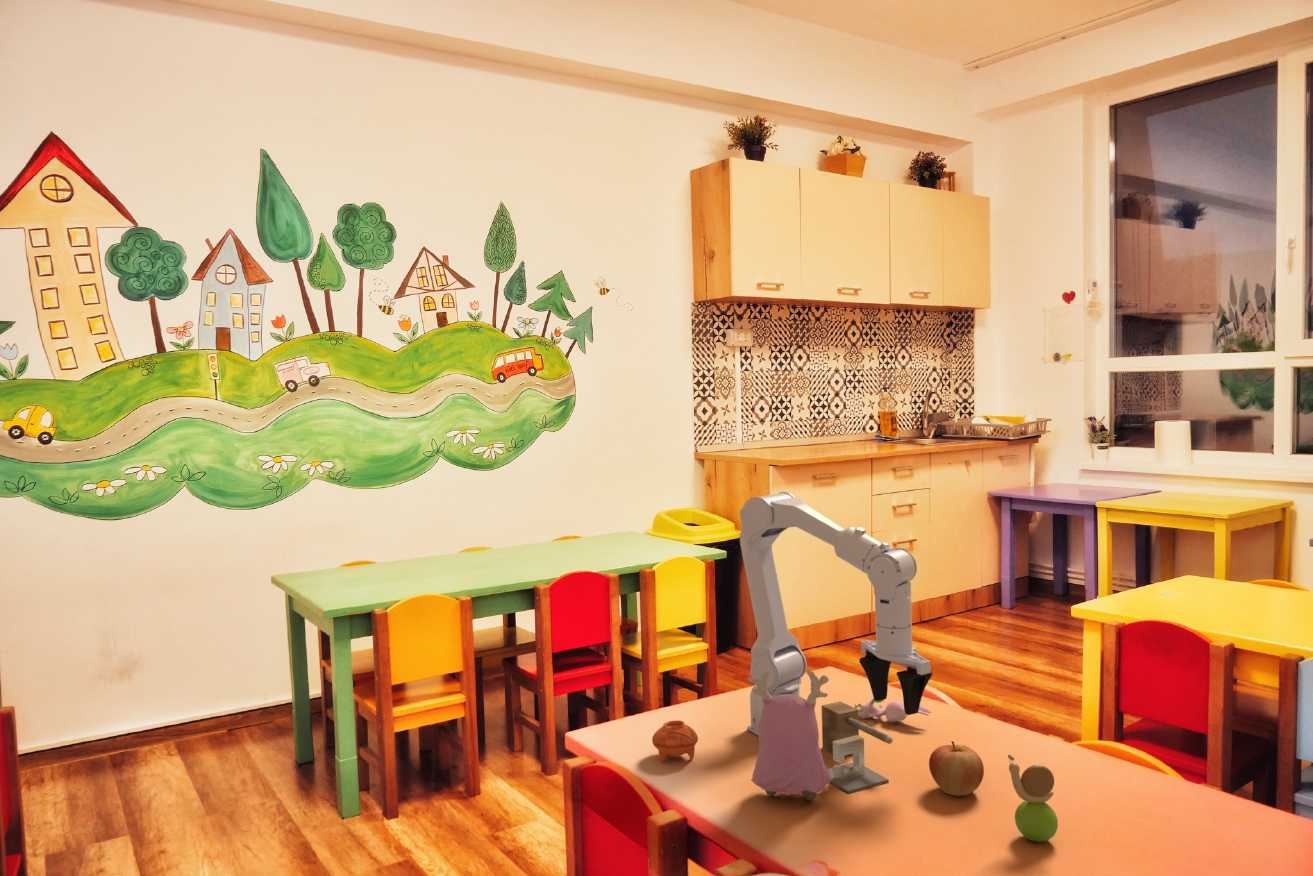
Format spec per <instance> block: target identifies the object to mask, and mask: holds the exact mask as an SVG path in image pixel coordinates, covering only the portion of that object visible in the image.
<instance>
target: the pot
mask: <svg viewBox="0 0 1313 876" xmlns="http://www.w3.org/2000/svg"><path fill="white" fill-rule="evenodd" d="M651 739H652V741H651V742H652V745H653V747H654V748H655V749H657V750H658V755H659V759H660V761H661V762H662V763H663V762H664V763H665V761H666V757H667V756H669V757H680V756H683V755H685V754H687V755H688V757H689V760H690V761H692V760H694V757H695V751H696V747H695V746H696V744H697V743H698V740H699V736H698V734H697V732H696V731H695V730H694V729H693V728H692V727H691V726H689V725H687V724H685V722H684V721H683V720H670V721H667V722H665V723H663V724H662V726H661V727H660V728H658V729H657V730H656V731H655V732H654V734H653V735H652V738H651Z"/></svg>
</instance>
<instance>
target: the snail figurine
mask: <svg viewBox="0 0 1313 876" xmlns="http://www.w3.org/2000/svg"><path fill="white" fill-rule="evenodd" d="M1007 758H1008V759H1009V765H1008V771H1009V773H1010V776H1011V782H1012V785H1013V789H1014V791H1015V792H1016V794H1017V796H1018V797H1019V798H1020V799H1021V800H1023V801H1022V802H1021V803H1020V804H1019V805H1017V808H1016V810H1015V814H1014V822H1015V826H1016V828H1017V830H1018V831H1019V832H1020V834H1021V836H1024V837H1025V838H1026V839H1027V840H1029V841H1032V842H1036V843H1044V842H1047V841H1049V840H1051V839H1052V838H1053V837H1055V835H1056V833H1057V831H1058V827H1059V822H1058V816H1057V814H1056V811H1054V808H1052V806H1050V805H1049V804H1048V803H1046V802H1048V801H1049V800H1051V798H1052V797H1053V796H1054V791H1052V790H1053V789H1054V786H1055V777H1054V775H1053V772H1052V771H1051V770H1050V769H1049V768H1048V767H1046V766H1045V765H1042V764H1033V765H1030V766H1029V767H1027V768H1026V769H1024V771H1023V773H1022V774H1021V776H1020V770H1021V769H1020V765H1019V764H1017V763H1015V762H1013V761H1014V760H1015V757H1014V756H1013V755H1011V754H1010V753H1009V754H1008V755H1007Z"/></svg>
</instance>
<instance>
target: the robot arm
mask: <svg viewBox="0 0 1313 876" xmlns="http://www.w3.org/2000/svg"><path fill="white" fill-rule="evenodd" d="M738 513H739V518H740V523H741V529H740V536H739V545H740V548H741V549H740V550H741V554H742V560H743V565H744V571H745V574H746V575H745V576H746V580H747V586H748V589H749V591H748V592H749V597H750V599H751V601H750V602H751V606H752V611H753V615H754V621H755V626H756V631H757V639H756V640H755V642H754V643H753V645H752V647H751V650H750V654H751V663H750V664H751V665H750V676H751V678H757V679H758V680H760V678H761V675H762V673H764V672H766V671H767V670H770V674H769V676H768V677H767V679H766V688H767V691H768V692H769V694H770V695H771V696H773V697H776V696H778V695H785V694H789V695H796V696H800V697H801V695H800V685H801V683H802V679H801V678H802V677H804V675H805V674H806V673H807V668H808V662H807V659H806V656H805V654H804V653H803V651H802V649H801V647H800V644H799V640H798V638H797V637H796V636H795V635H794V634H792V633H791V632H790V631H789V630H788V625H787V620H786V614H785V610H784V605H783V600H782V595H781V589H780V584H779V581H778V580H779V579H778V574H777V569H776V564H775V559H774V554H773V550H772V546H773V545H774V544H775V542H776V540H777V539H778V537H779V536H780V535H781V533H783V532H785V531H786V530H788V529H789V528H798V529H800V530H801V531H803V532H805V533H807V534H808V535H811V536H813V537H815V538H817V539H819V540H821V541H822V542H825V543H826V544H829V545H830V546H833V548H834V549H833V550H834V553H835V555H836V557H838V558H839V559H841V560H842V561H844V562H846V563H848V564H850V565H851V566H853V567H855V568H856V569H858V570H860V571H861V572H862V573H865V574H866V575H867V578H868V581H870V583H871V585H872V587H873V595H874V606H875V608H874V609H875V615H874V616H875V640H871V639H869V640H863V641H862V640H861V642H860V644H861V645H860V649H861V653H862V654H864V655H865V656H862V657H860V658H859V659H858V660H859V665H861V667H862V669H863V670H864V672H865V673H864V674H865V675H866V677H867V680H868V683H869V685H870V689H871V693H872V697H873V698H874V700H875V701H879V700H884V701H885V700H886V699H887V698H888V686H889V685H888V683H889V682H888V681H889V680H888V679H889V673H890V667H891V664H892V663H893V664H895V665H899V666H901V667H903V668H906V669H905V670H899V671H897V672H896V677H897V678H898V681H899V684H900V687H901V690H902V691H901V692H902V697H903V699H902V702H903V703H904V710H905V713H906V714H907V716H911V715H915V714H919V713H918V710H919V706H920V705H921V702H922V697H923V694H924V691H925V689H926V687H927V686H928V683H929V681H930V680H931V678H932V676H933V671H932V669H931V660H928V659H926V658H925V657H923V656H922V655H920V654H919V653H917V648H916V647H914V646H913V626H912V625H913V624H912V623H913V622H912V621H913V620H912V617H913V616H912V615H913V613H912V612H913V611H912V586H911V585H912V582H911V581H912V580H913V579H914V578H915V576H916V575H917V569H918V566H917V561H916V559H915V557H914V555H912V554H911V553H910V552H909V551H908V550H907V549H906V548H904V547H894V548H892V547H890V544H889V543H888V542H885V541H884V542H882V541H879V540H877V539H876V538H874V537H872V536H871V535H869V534H867V533H866V532H867V530H866V529H865V528H864V527H860V526H859V527H855V526H851V527H847V528H845V529H844V528H843V527H841V526H840V525H838V524H837V523H835V522H834V521H832V520H831V519H829V518H827V517H826V516H824V515H823V514H822V513H820V512H818V511H817V510H815V509H814V508H812V507H811V506H809V505H807V503H805V501H804V500H803V499H802V498H801V497H798V496H794V495H793V494H792V493H790V492H787V491H782V492H781V491H780V492H778V493H773V494H768V495H762V496H752V497H750V498H749V499H747V500H746V502H745V503H744V505H743V506H742V508H741V509H740V510H739V512H738ZM752 689H757V685H756V684H754V685H753V686H752V688H751V691H750V693H749V694H750V695H749V704H750V706H749V707H750V708H749V709H750V725H748V726H746V730H748V731H750V732H751V733H753V734H754V735H756V736H758V724H759V719H760V715H761V713H762V710H763V706H764V705H763V701H762V699H763V698H762V697H761V696H759V695H758V694H755V693H754V692H753V691H752Z"/></svg>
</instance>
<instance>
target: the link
mask: <svg viewBox="0 0 1313 876" xmlns="http://www.w3.org/2000/svg"><path fill="white" fill-rule="evenodd" d="M849 754H852V763H853V767H850V768H846V769H845V768H844V767H842V765H840V764H842V763H845V757H846V756H845V755H848V756H850V755H849ZM832 760H833V761H835V762H836V763H838V764H836V765H833V767H832V768H833V775H834V779H836V780H838V781H839V782H841V781H844V780H848V779H852V778H855V777H859V776H862V775H865V767H866V765H865V738H864V737H862V736H860V735H859V736H858V735H856V736H852V737H848V738H844V739H840V740H836V741H833V753H832Z"/></svg>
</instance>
